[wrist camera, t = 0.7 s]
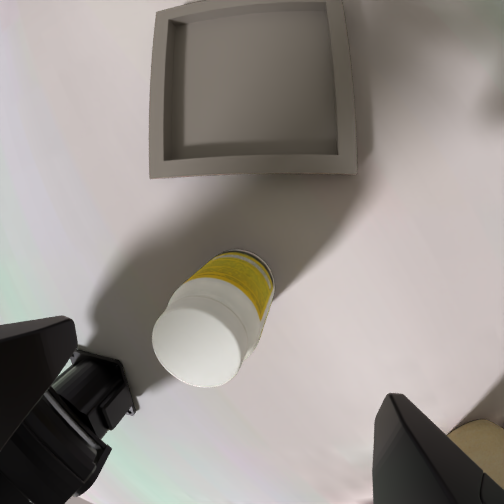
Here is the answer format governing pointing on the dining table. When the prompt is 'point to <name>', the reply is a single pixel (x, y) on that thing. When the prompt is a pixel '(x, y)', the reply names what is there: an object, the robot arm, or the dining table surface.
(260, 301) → the supplement bottle
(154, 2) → the dining table surface
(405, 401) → the robot arm
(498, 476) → the plant pot
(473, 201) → the dining table surface
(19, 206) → the dining table surface
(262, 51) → the tray
